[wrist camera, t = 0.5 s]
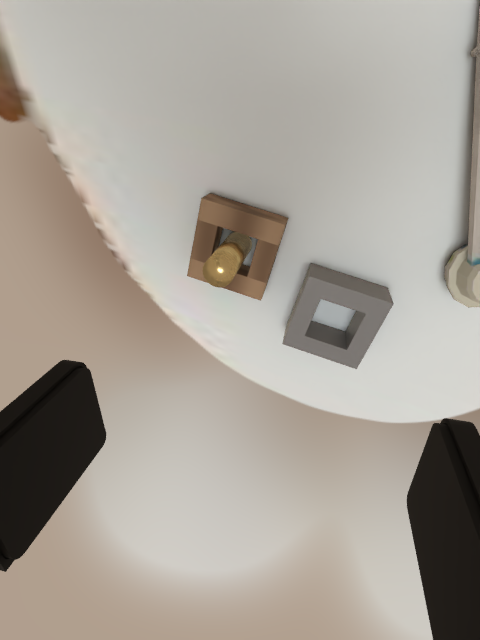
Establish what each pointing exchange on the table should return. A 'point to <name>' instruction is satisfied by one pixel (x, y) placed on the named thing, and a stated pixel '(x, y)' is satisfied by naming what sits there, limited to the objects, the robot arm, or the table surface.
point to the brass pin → (227, 259)
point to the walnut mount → (244, 221)
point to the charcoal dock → (346, 292)
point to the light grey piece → (470, 218)
